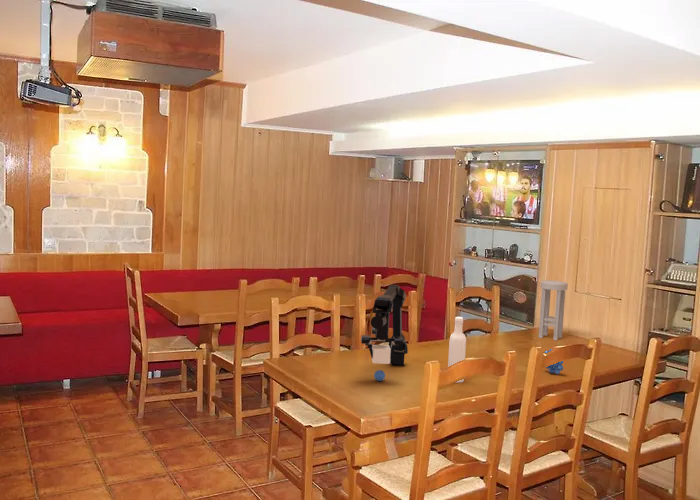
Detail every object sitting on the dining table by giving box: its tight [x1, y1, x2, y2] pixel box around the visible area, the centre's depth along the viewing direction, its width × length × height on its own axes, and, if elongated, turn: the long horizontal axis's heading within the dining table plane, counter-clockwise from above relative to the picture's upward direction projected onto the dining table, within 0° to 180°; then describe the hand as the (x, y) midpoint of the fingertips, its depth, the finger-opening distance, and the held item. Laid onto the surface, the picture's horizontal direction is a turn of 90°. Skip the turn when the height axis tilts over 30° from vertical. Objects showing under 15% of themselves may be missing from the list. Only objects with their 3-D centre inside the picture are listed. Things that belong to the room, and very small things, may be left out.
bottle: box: [447, 316, 467, 384], centre depth 312 cm, size 8×8×30 cm
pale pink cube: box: [371, 344, 391, 365], centre depth 304 cm, size 8×8×7 cm
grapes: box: [543, 348, 564, 375], centre depth 332 cm, size 12×7×12 cm, turn 42°
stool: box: [538, 279, 569, 341], centre depth 416 cm, size 16×16×35 cm
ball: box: [373, 369, 386, 382], centre depth 307 cm, size 5×5×5 cm
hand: (380, 358), depth 304 cm, fingers closed on pale pink cube, 8 cm apart
